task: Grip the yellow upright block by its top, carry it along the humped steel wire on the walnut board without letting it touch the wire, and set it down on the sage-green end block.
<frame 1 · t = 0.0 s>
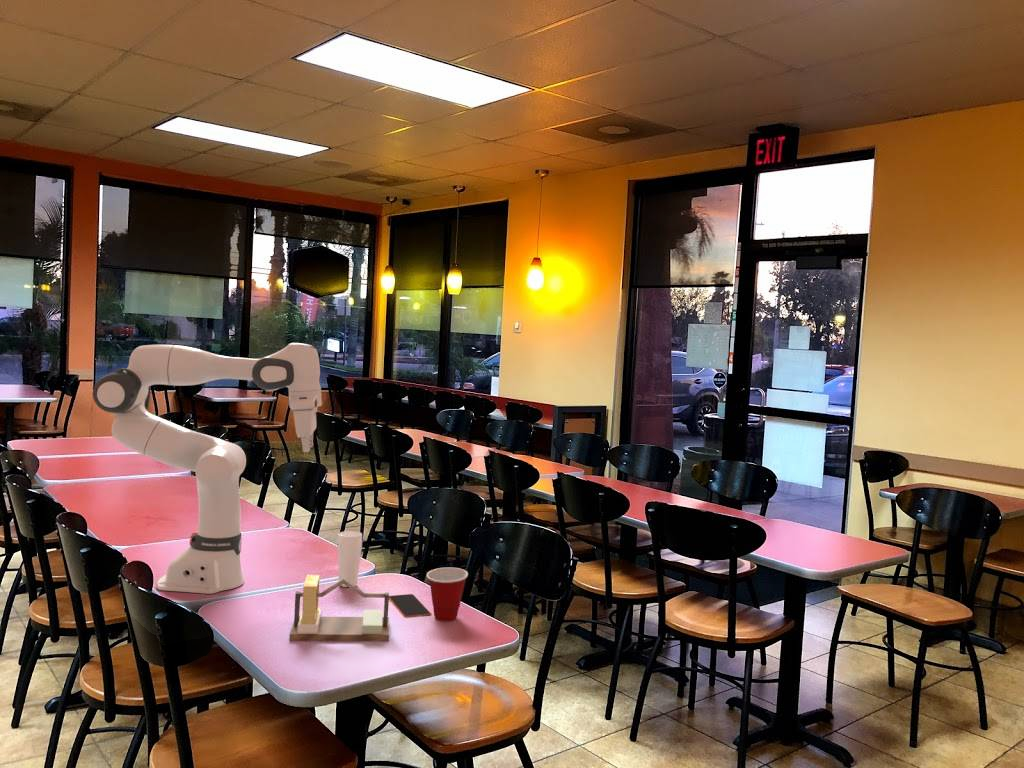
hand: (308, 449, 229), 39 cm above the table, tool pointing down, fingers open, 8 cm apart
yellow upright block: (309, 617, 197), point 3 cm above the table, touching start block
smartphone: (408, 608, 220), on the table
buzz wire: (340, 631, 198), on the table
white cylinder: (347, 586, 234), on the table
end block: (372, 631, 199), resting on buzz wire
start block: (309, 631, 197), resting on buzz wire
plastic cup: (444, 618, 212), on the table
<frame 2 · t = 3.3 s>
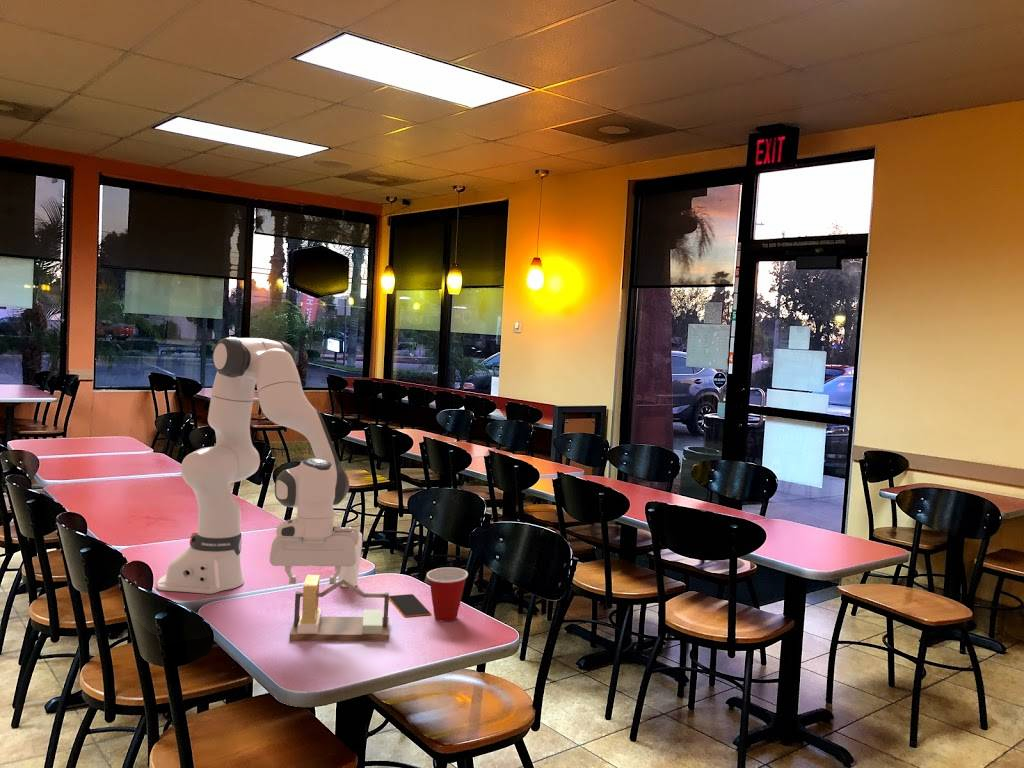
hand: (312, 583, 196), 12 cm above the table, tool pointing down, fingers open, 8 cm apart
nothing on the table moved.
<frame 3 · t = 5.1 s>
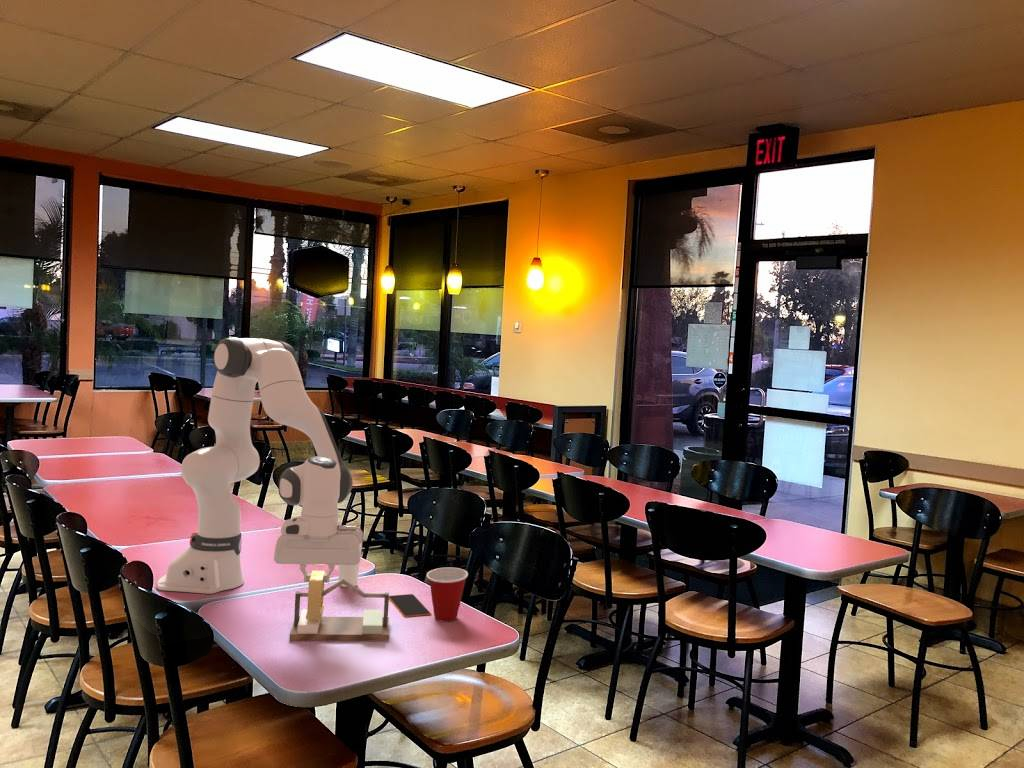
hand: (316, 581, 196), 12 cm above the table, tool pointing down, fingers closed on yellow upright block, 3 cm apart
yellow upright block: (315, 612, 197), point 5 cm above the table, touching gripper
everything else where it was.
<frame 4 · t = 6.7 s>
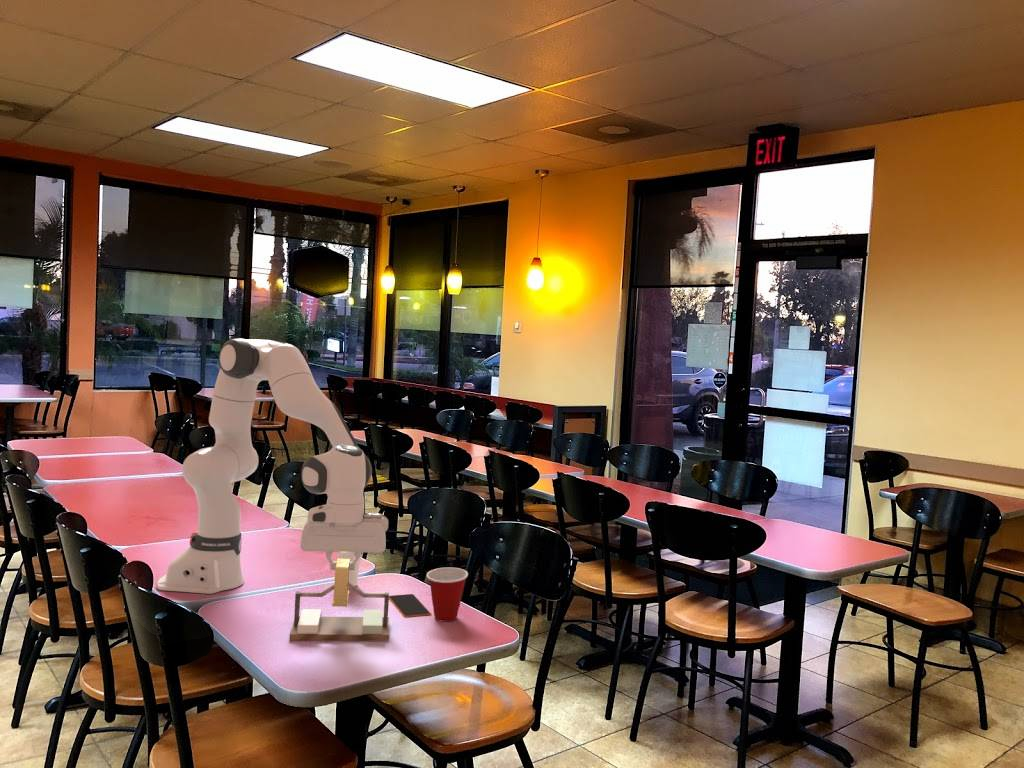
hand: (342, 569, 197), 15 cm above the table, tool pointing down, fingers closed on yellow upright block, 3 cm apart
yellow upright block: (340, 600, 198), point 8 cm above the table, touching gripper
everything else where it was.
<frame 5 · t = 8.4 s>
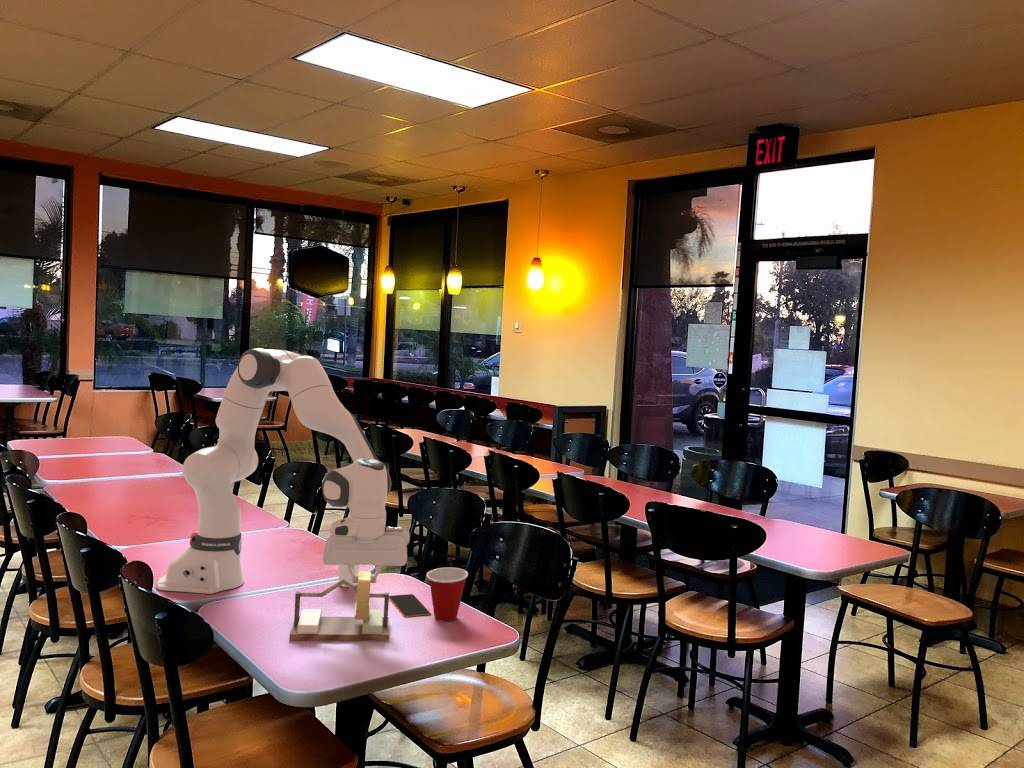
hand: (364, 582, 198), 12 cm above the table, tool pointing down, fingers closed on yellow upright block, 3 cm apart
yellow upright block: (362, 613, 199), point 5 cm above the table, touching gripper
everything else where it was.
when the fingers open (12 cm above the table, at t = 9.6 s): yellow upright block stays where it is, resting on end block.
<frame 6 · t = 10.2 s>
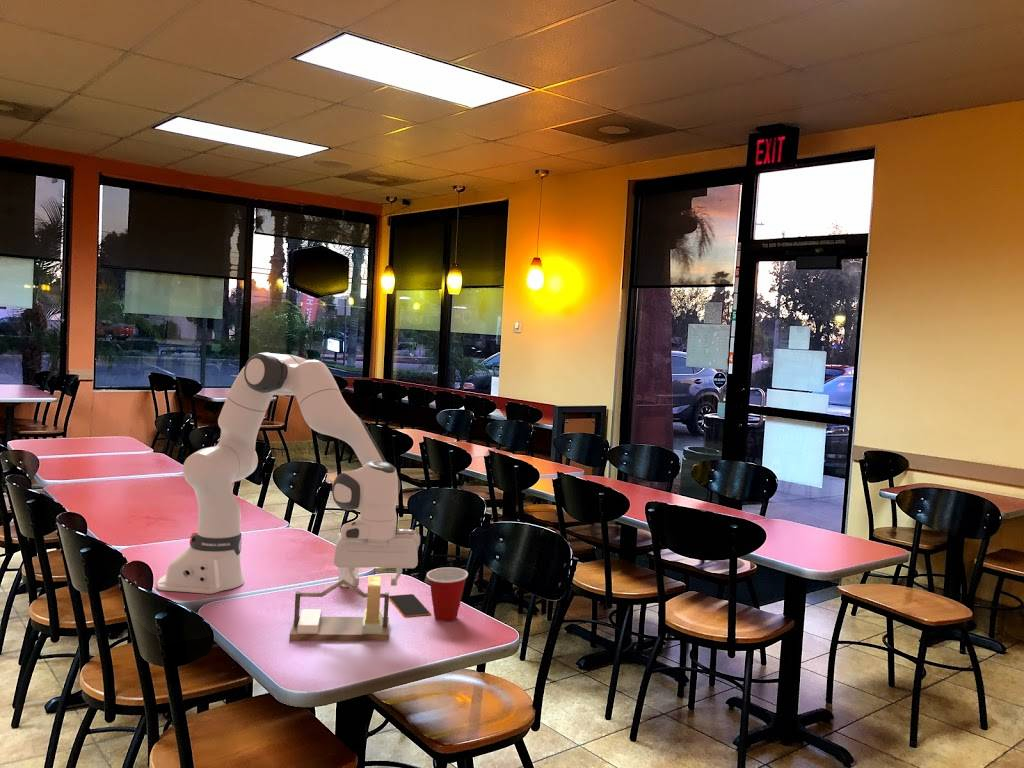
hand: (374, 584, 199), 12 cm above the table, tool pointing down, fingers open, 8 cm apart
yellow upright block: (372, 617, 199), point 3 cm above the table, touching end block
everything else where it was.
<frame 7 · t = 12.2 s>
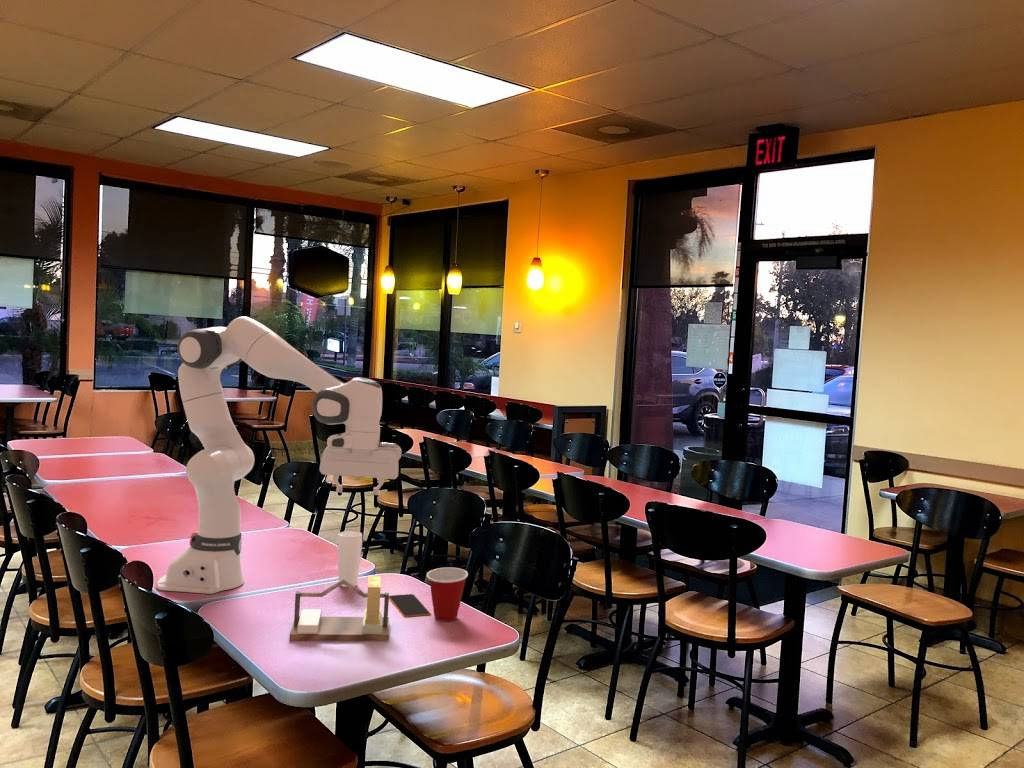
hand: (357, 493, 212), 31 cm above the table, tool pointing down, fingers open, 8 cm apart
nothing on the table moved.
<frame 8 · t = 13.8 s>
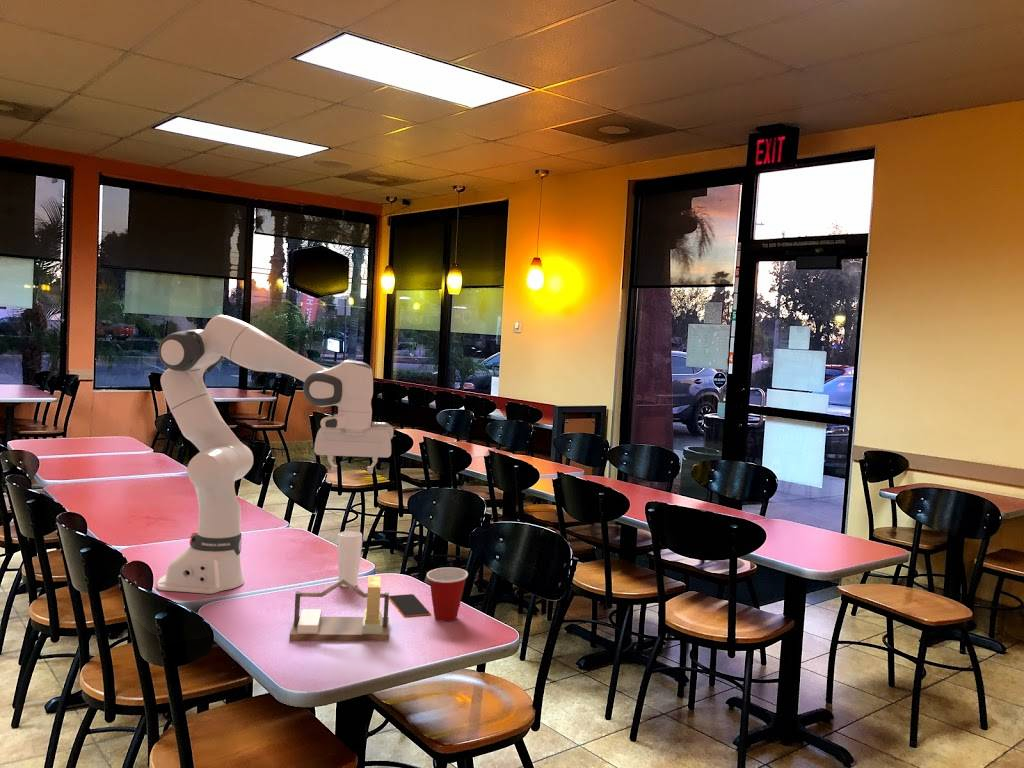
hand: (352, 472, 218), 35 cm above the table, tool pointing down, fingers open, 8 cm apart
nothing on the table moved.
at the end: yellow upright block 0.1 cm off-centre on the end block, point 3.5 cm above the end block's base; yellow upright block touching end block; yellow upright block tilted 0° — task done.
